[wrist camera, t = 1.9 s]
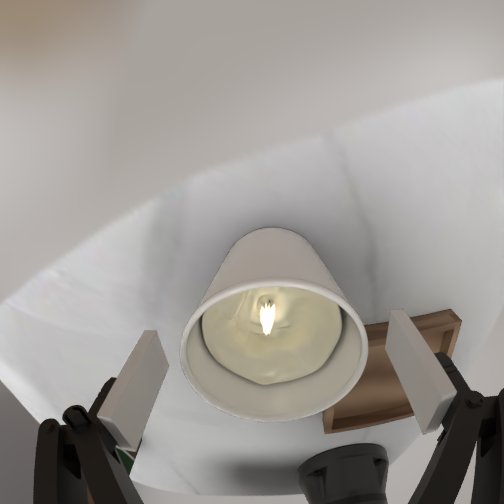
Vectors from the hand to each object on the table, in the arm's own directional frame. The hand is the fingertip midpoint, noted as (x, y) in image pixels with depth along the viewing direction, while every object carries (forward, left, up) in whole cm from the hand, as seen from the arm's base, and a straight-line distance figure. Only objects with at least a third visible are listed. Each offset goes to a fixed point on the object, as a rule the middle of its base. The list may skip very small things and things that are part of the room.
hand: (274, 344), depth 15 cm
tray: (-14, -12, -10) cm, 21 cm away
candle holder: (0, 0, -11) cm, 11 cm away
